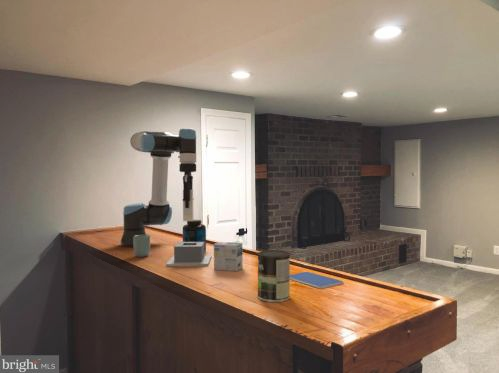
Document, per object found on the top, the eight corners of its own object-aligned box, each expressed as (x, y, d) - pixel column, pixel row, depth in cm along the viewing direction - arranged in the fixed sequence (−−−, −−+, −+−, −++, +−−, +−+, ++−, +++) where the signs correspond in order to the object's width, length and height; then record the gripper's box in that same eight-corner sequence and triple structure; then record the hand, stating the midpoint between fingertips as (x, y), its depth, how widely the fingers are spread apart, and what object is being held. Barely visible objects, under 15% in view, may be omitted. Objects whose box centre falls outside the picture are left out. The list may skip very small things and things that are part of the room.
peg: (184, 220, 176) (184, 189, 176) (193, 220, 177) (193, 189, 176) (183, 221, 172) (182, 189, 172) (192, 221, 173) (191, 189, 172)
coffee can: (259, 303, 117) (259, 256, 117) (256, 293, 127) (256, 250, 127) (293, 302, 118) (293, 256, 117) (286, 292, 128) (286, 249, 128)
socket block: (173, 257, 184) (173, 241, 184) (211, 257, 184) (211, 240, 184) (165, 266, 166) (165, 247, 166) (207, 266, 166) (207, 247, 166)
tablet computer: (283, 278, 147) (283, 275, 147) (307, 274, 154) (307, 270, 154) (320, 290, 131) (320, 287, 131) (344, 284, 139) (344, 281, 139)
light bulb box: (243, 268, 163) (243, 242, 162) (237, 271, 156) (237, 245, 156) (219, 266, 166) (219, 241, 166) (213, 269, 160) (213, 243, 160)
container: (178, 252, 196) (178, 221, 195) (190, 249, 207) (190, 218, 206) (198, 254, 191) (198, 222, 191) (210, 250, 202) (210, 219, 202)
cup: (145, 258, 183) (145, 237, 183) (130, 257, 185) (130, 236, 184) (153, 255, 191) (152, 234, 190) (138, 254, 192) (138, 234, 192)
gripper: (182, 164, 183) (183, 213, 183) (176, 162, 166) (176, 216, 166) (198, 164, 183) (198, 213, 183) (193, 162, 166) (194, 216, 166)
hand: (188, 214), depth 174 cm, fingers closed on peg, 4 cm apart
